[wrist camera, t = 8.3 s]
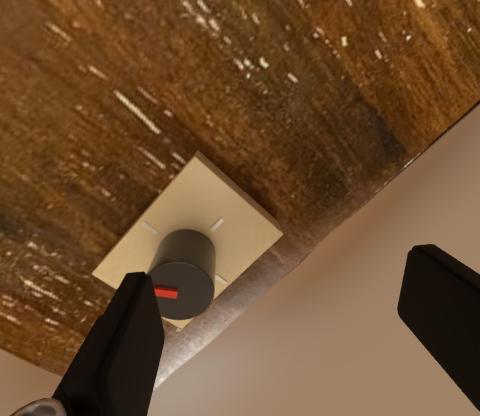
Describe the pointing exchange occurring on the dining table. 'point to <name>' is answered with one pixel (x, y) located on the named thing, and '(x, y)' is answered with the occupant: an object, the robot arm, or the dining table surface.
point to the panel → (196, 226)
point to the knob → (184, 274)
